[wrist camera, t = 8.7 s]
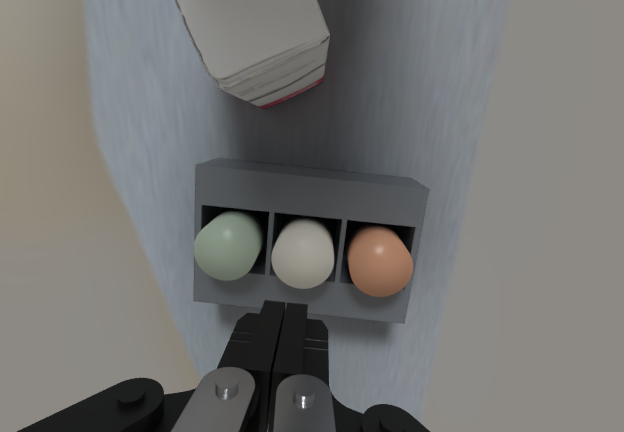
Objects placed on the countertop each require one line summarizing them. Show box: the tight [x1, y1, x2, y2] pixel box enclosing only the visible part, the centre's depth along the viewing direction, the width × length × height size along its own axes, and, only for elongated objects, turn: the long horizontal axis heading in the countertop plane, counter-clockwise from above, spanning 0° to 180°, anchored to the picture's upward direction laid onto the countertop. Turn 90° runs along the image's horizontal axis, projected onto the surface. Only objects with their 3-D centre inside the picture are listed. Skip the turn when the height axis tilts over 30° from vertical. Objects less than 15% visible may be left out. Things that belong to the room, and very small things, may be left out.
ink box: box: [175, 0, 330, 109], centre depth 18 cm, size 9×5×12 cm, turn 23°
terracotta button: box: [346, 224, 413, 297], centre depth 22 cm, size 4×4×3 cm
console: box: [193, 158, 429, 324], centre depth 25 cm, size 9×14×4 cm, turn 84°
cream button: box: [271, 217, 334, 289], centre depth 22 cm, size 4×4×3 cm
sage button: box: [194, 209, 264, 281], centre depth 22 cm, size 4×4×3 cm
